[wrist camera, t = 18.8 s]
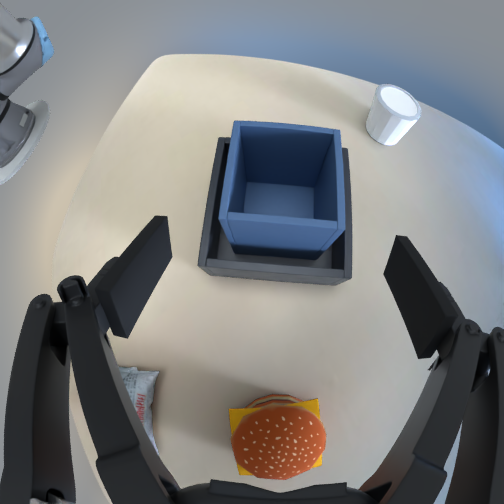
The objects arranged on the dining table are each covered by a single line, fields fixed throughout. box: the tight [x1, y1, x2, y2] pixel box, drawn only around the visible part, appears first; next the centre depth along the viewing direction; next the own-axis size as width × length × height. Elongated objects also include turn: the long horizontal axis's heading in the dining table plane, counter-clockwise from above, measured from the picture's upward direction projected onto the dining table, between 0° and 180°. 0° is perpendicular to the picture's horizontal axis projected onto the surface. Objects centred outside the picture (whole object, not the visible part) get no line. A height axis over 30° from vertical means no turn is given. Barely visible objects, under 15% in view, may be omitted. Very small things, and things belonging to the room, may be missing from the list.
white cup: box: [366, 84, 421, 146], centre depth 30 cm, size 7×7×7 cm
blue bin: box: [218, 121, 345, 260], centre depth 25 cm, size 9×9×11 cm
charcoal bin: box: [198, 137, 352, 285], centre depth 28 cm, size 14×14×6 cm
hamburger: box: [229, 394, 326, 480], centre depth 23 cm, size 9×10×7 cm
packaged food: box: [118, 367, 160, 455], centre depth 24 cm, size 9×12×5 cm
